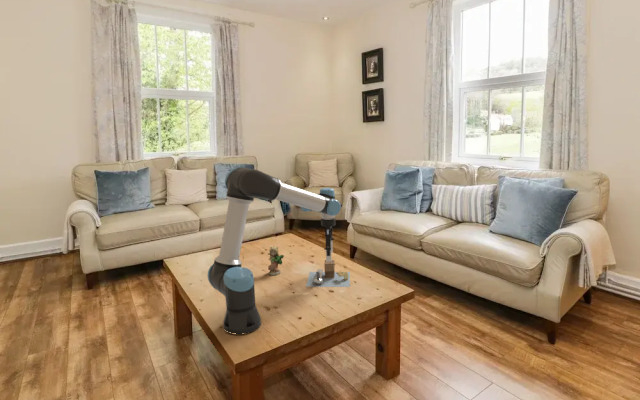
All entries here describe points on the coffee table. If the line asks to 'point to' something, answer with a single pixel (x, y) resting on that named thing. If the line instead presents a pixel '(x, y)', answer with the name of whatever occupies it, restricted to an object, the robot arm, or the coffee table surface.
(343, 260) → the coffee table surface
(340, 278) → the board
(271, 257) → the figurine
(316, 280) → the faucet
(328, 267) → the block
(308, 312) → the coffee table surface
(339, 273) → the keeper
